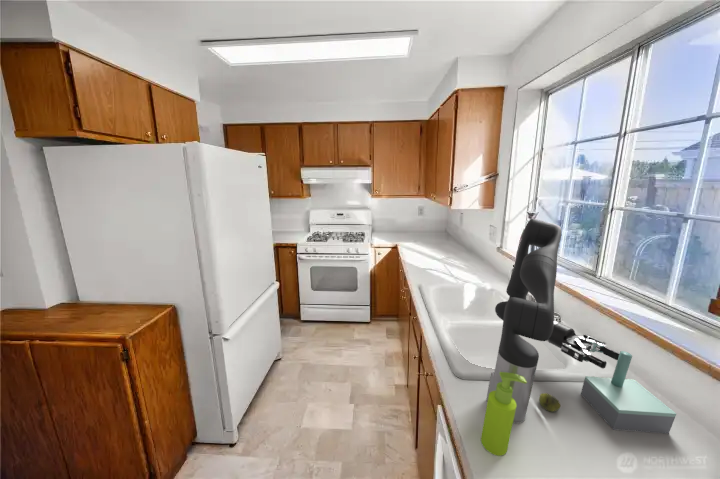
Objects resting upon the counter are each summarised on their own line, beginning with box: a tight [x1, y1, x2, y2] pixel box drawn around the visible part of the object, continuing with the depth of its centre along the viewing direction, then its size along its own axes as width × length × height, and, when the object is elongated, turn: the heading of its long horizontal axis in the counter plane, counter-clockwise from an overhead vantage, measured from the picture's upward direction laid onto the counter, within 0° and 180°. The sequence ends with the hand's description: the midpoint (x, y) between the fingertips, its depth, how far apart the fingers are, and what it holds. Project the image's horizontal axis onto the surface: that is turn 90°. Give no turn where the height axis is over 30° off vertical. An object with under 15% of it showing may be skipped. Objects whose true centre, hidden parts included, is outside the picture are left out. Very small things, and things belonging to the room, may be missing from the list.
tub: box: [580, 379, 676, 434], centre depth 79 cm, size 14×12×6 cm
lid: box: [584, 350, 677, 418], centre depth 77 cm, size 14×12×12 cm
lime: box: [538, 392, 561, 413], centre depth 79 cm, size 4×5×5 cm
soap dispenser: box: [480, 372, 527, 457], centre depth 67 cm, size 6×7×20 cm
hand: (612, 361), depth 81 cm, fingers open, 8 cm apart
